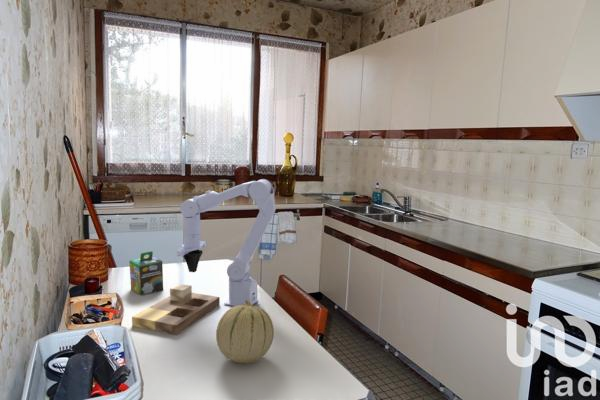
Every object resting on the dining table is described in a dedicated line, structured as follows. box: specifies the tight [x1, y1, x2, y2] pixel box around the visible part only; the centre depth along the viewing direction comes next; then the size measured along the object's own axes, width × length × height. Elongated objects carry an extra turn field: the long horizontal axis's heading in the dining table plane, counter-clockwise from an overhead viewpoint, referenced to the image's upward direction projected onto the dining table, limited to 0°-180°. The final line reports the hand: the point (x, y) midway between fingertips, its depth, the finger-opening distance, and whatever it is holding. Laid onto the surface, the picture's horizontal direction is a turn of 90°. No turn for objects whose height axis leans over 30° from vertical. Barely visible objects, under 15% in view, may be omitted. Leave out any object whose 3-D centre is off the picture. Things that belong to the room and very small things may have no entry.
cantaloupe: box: [215, 301, 275, 364], centre depth 109 cm, size 15×15×15 cm
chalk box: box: [128, 251, 164, 296], centre depth 159 cm, size 9×9×15 cm
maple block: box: [169, 283, 193, 302], centre depth 143 cm, size 5×5×4 cm
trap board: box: [131, 292, 221, 336], centre depth 137 cm, size 16×24×3 cm, turn 160°
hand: (192, 271), depth 149 cm, fingers closed
